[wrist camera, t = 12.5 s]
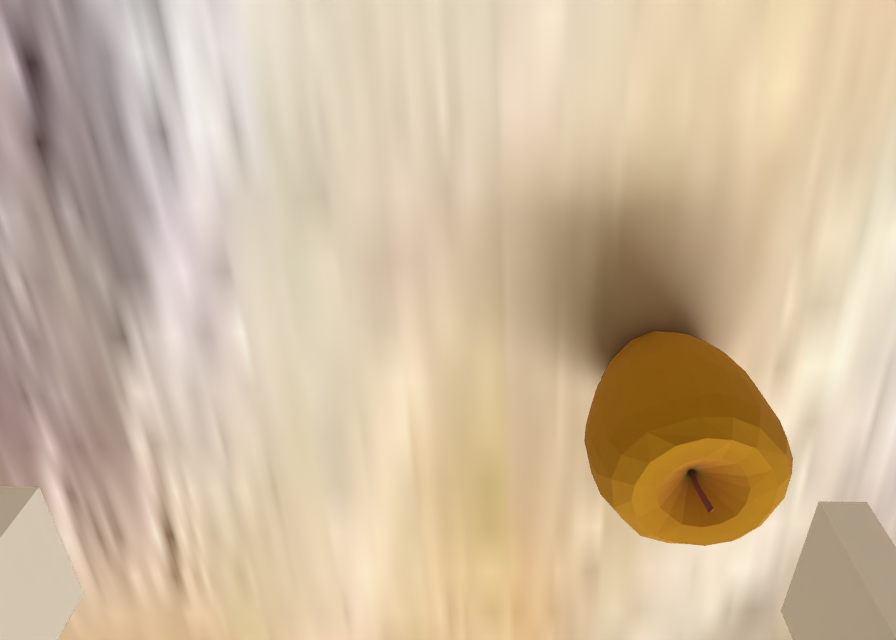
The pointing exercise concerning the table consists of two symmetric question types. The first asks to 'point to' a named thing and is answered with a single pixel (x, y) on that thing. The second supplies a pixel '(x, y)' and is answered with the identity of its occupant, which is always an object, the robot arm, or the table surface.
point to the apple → (685, 442)
